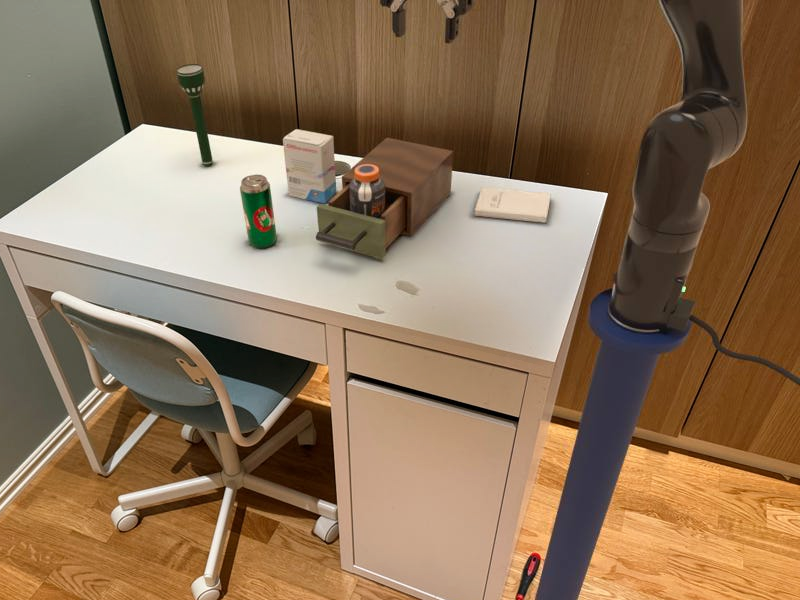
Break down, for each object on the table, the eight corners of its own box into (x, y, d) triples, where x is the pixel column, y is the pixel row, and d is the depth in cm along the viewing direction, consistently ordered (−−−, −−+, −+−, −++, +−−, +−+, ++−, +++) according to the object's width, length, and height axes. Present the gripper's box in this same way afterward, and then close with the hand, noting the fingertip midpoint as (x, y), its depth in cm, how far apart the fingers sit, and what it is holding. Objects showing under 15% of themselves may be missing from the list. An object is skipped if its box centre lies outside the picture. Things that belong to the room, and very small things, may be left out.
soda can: (252, 233, 129) (242, 173, 121) (279, 234, 128) (271, 173, 120) (246, 249, 125) (235, 188, 117) (274, 249, 124) (265, 188, 116)
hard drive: (545, 224, 124) (474, 216, 128) (550, 200, 130) (481, 193, 133) (547, 216, 123) (474, 208, 127) (551, 192, 129) (482, 186, 132)
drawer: (367, 274, 115) (366, 239, 111) (304, 255, 121) (300, 220, 116) (423, 214, 128) (424, 180, 123) (363, 199, 133) (362, 166, 128)
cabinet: (410, 237, 124) (411, 193, 118) (344, 219, 130) (341, 176, 124) (450, 193, 134) (453, 150, 128) (387, 178, 140) (386, 137, 134)
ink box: (338, 192, 138) (334, 134, 130) (325, 204, 134) (321, 145, 127) (300, 183, 141) (295, 126, 133) (287, 195, 138) (280, 137, 130)
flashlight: (220, 157, 152) (203, 62, 139) (219, 169, 148) (202, 72, 135) (196, 160, 152) (177, 65, 139) (195, 171, 148) (175, 75, 135)
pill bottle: (376, 241, 120) (375, 180, 113) (345, 234, 123) (342, 174, 115) (390, 223, 124) (390, 163, 117) (360, 217, 127) (357, 157, 119)
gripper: (485, -86, 99) (477, 36, 110) (394, -89, 105) (395, 26, 116) (463, -73, 95) (456, 52, 106) (370, -78, 101) (372, 41, 112)
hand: (424, 38), depth 111 cm, fingers open, 8 cm apart
